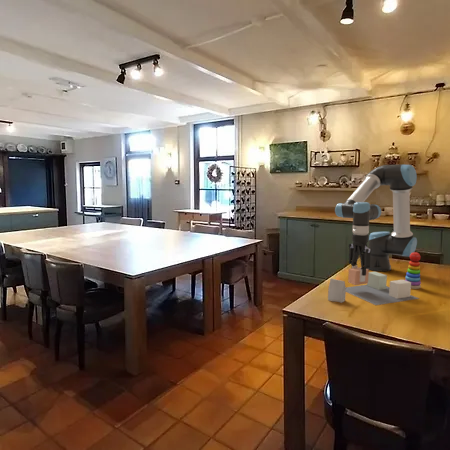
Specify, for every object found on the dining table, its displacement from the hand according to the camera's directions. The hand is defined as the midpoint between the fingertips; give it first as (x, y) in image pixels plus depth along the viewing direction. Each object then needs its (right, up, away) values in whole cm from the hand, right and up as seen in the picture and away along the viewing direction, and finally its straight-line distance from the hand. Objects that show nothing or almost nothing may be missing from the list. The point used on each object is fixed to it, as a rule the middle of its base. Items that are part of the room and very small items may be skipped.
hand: (358, 279), depth 182 cm
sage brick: (+12, -5, +7) cm, 15 cm away
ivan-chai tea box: (-15, -8, -12) cm, 21 cm away
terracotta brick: (0, -2, 0) cm, 2 cm away
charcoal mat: (+8, -7, -2) cm, 11 cm away
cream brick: (+17, -7, -7) cm, 20 cm away
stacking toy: (+31, -5, +8) cm, 33 cm away
